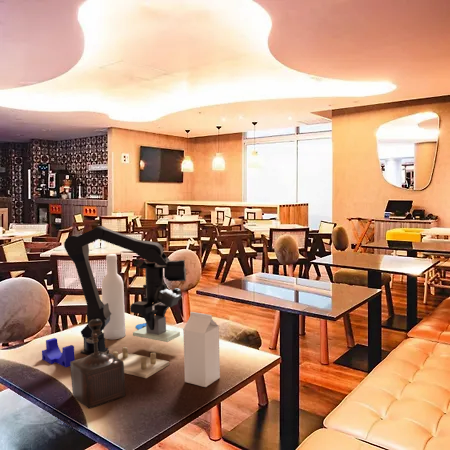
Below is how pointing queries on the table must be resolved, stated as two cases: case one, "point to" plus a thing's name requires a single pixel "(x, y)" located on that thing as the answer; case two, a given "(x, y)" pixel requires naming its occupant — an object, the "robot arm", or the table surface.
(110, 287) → the bottle
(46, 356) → the cable clip
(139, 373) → the plate
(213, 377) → the milk carton
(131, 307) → the robot arm
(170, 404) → the table surface
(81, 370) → the pepper mill
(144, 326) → the handheld gaming device
